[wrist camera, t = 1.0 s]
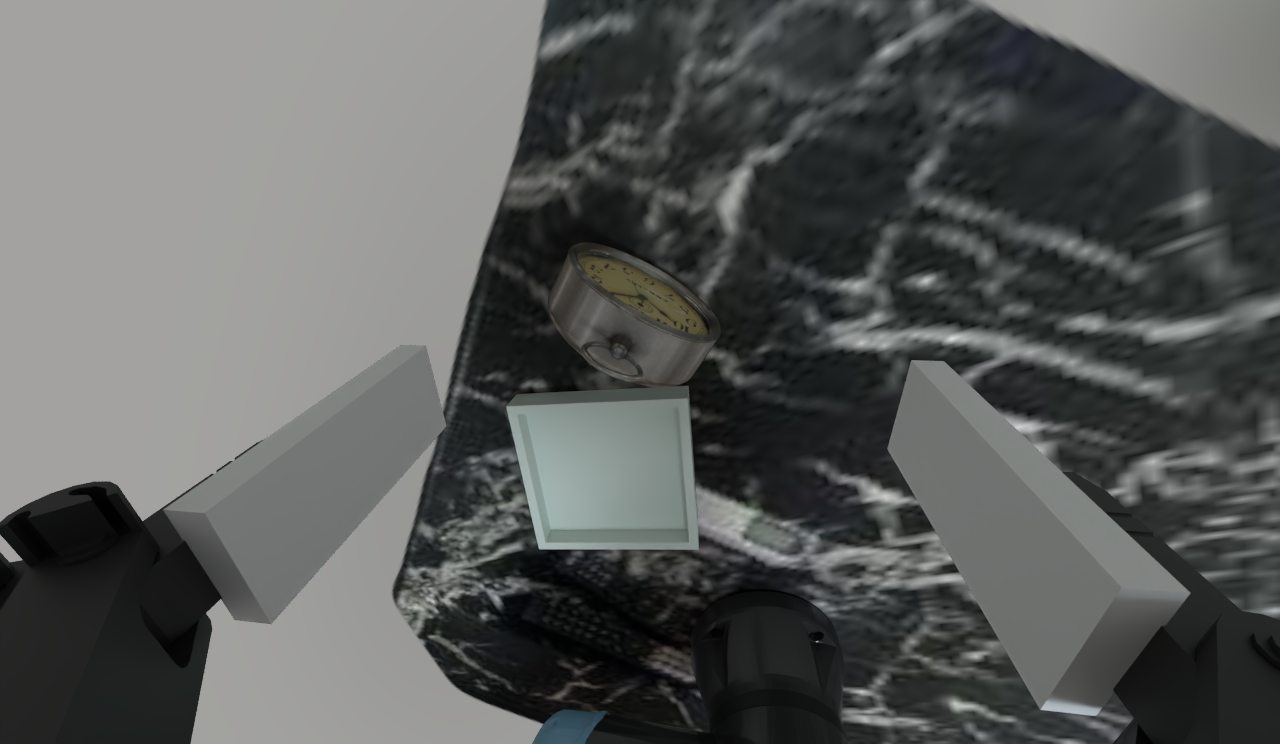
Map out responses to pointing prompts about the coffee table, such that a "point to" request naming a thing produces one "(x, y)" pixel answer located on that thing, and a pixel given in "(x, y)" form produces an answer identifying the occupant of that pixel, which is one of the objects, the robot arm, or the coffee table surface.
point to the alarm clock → (630, 317)
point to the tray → (608, 467)
